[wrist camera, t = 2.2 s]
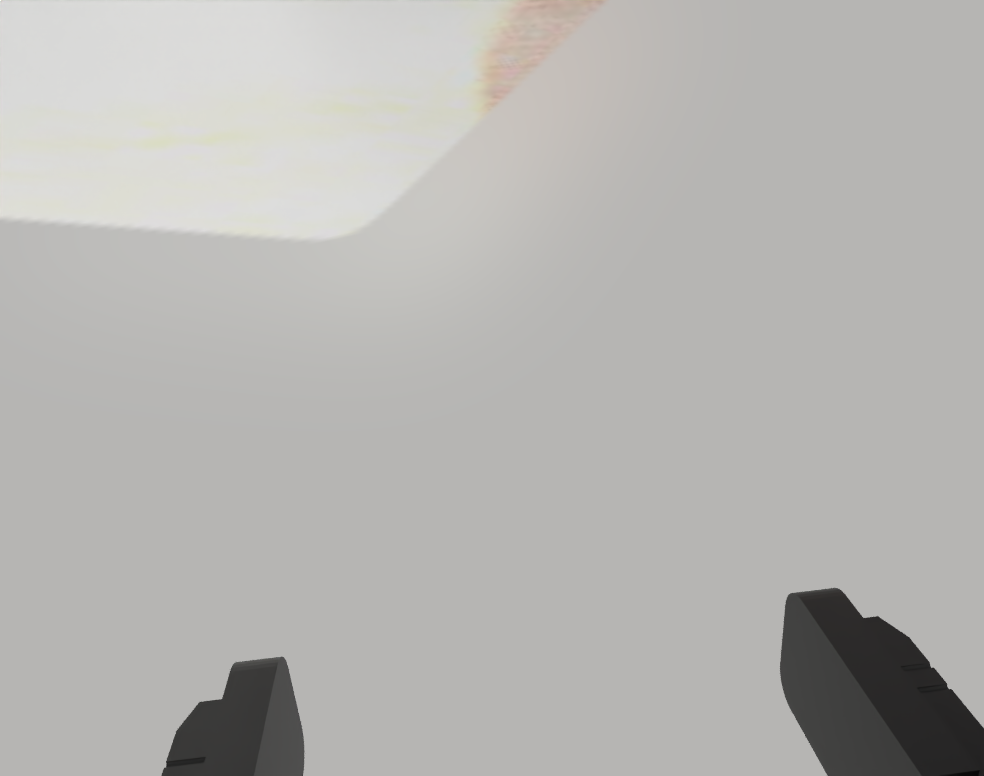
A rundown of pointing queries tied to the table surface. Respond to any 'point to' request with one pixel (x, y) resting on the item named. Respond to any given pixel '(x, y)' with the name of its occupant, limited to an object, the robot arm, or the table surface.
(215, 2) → the table surface
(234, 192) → the table surface
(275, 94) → the table surface
